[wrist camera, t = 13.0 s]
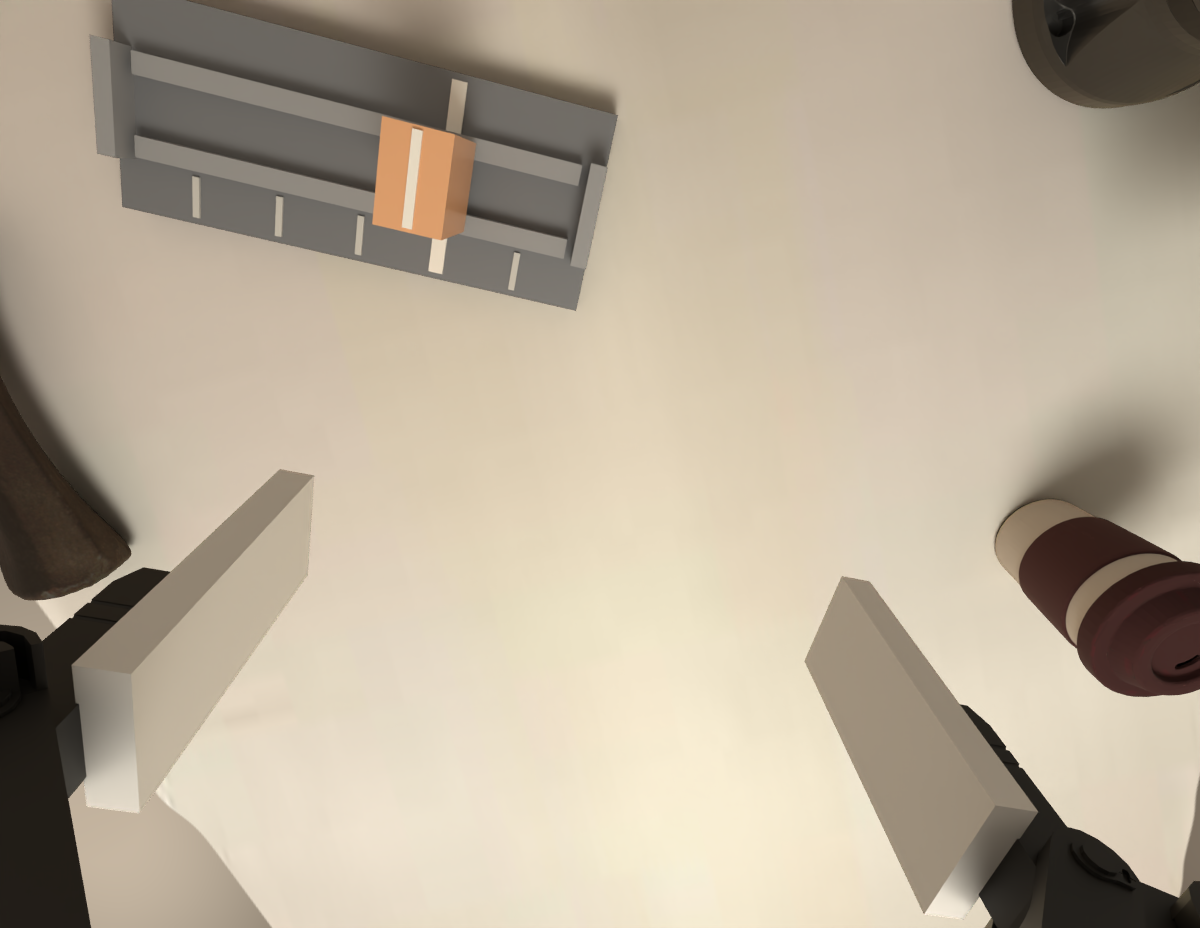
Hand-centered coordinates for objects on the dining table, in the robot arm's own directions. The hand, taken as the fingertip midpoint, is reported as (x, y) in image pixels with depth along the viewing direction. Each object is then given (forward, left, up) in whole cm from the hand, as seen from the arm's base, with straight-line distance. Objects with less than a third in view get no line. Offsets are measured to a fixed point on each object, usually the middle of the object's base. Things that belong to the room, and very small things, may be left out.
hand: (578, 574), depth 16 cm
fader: (-7, -10, -31) cm, 33 cm away
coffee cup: (+9, +41, -33) cm, 53 cm away
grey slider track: (-7, -15, -33) cm, 37 cm away
